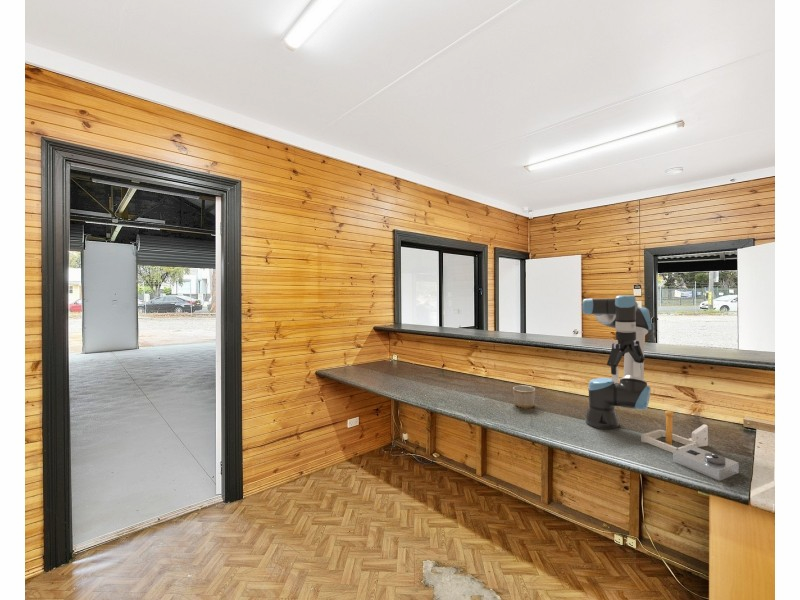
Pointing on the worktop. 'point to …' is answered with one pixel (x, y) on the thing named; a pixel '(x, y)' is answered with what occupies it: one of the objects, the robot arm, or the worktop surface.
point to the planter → (524, 396)
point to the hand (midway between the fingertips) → (626, 379)
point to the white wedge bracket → (700, 435)
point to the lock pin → (669, 426)
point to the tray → (659, 433)
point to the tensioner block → (706, 462)
